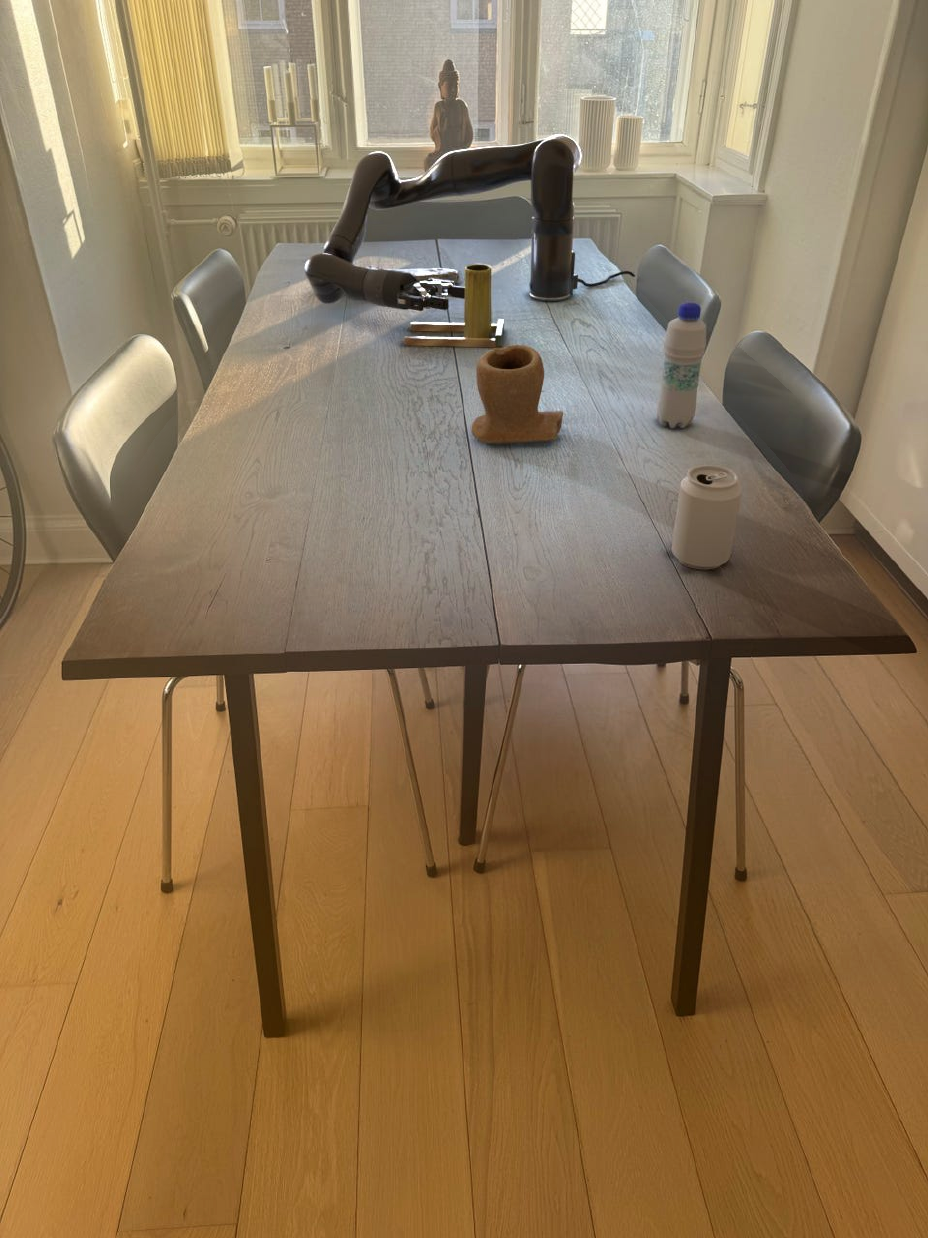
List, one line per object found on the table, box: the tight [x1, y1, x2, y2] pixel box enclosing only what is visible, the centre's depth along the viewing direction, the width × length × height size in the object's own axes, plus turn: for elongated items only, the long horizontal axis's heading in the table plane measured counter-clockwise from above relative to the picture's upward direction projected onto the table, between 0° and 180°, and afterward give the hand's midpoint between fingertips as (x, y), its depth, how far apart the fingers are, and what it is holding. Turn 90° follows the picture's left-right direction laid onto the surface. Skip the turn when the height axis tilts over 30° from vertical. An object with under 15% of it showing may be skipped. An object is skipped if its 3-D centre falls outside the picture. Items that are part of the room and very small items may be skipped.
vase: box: [462, 263, 494, 338], centre depth 191 cm, size 6×6×14 cm
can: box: [670, 464, 743, 571], centre depth 120 cm, size 8×8×12 cm
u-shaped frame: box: [403, 318, 505, 349], centre depth 195 cm, size 20×10×2 cm, turn 85°
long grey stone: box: [367, 265, 461, 284], centre depth 226 cm, size 35×5×10 cm
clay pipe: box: [470, 344, 564, 445], centre depth 150 cm, size 15×12×15 cm
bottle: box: [656, 301, 707, 429], centre depth 154 cm, size 7×7×20 cm
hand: (458, 298), depth 193 cm, fingers open, 8 cm apart
